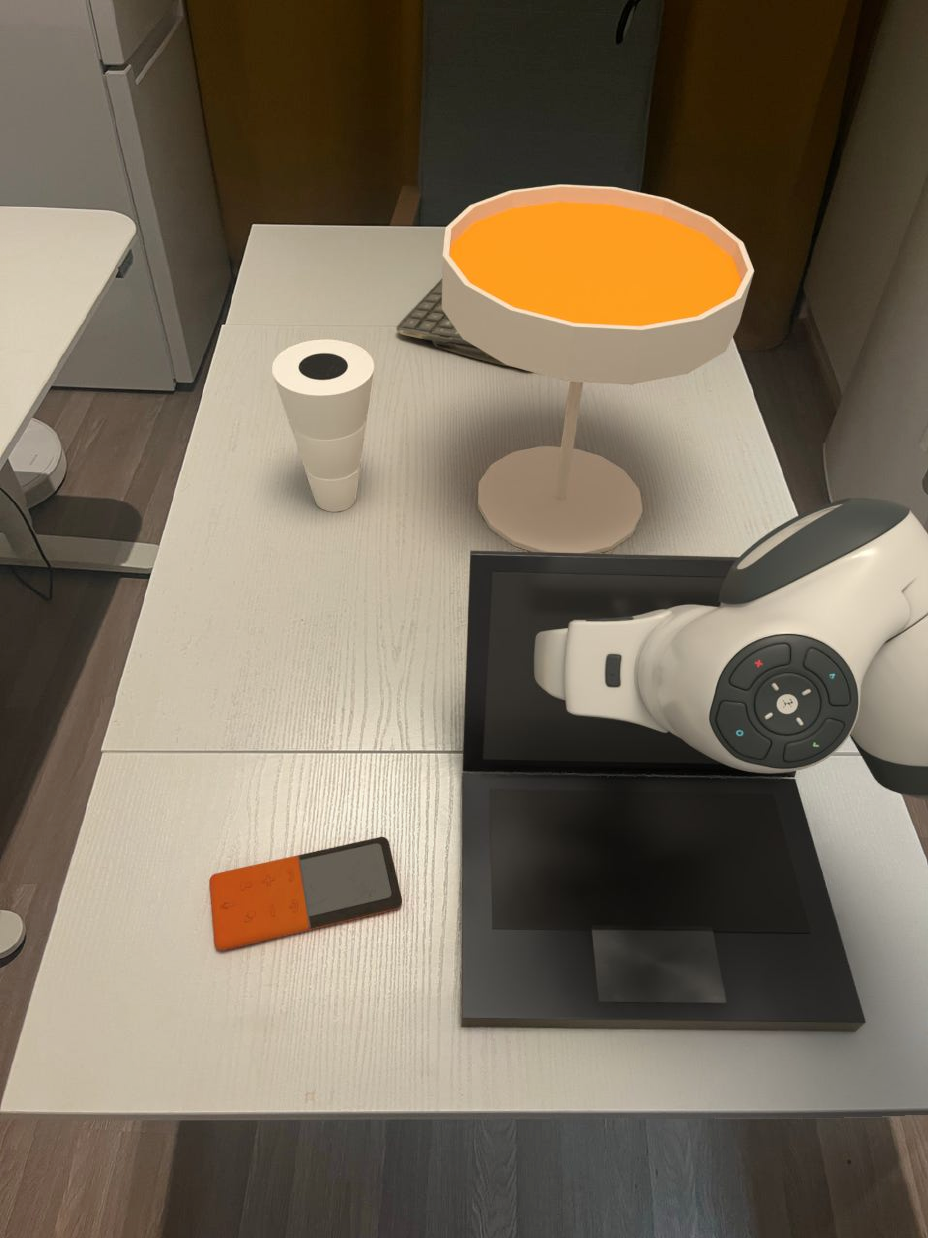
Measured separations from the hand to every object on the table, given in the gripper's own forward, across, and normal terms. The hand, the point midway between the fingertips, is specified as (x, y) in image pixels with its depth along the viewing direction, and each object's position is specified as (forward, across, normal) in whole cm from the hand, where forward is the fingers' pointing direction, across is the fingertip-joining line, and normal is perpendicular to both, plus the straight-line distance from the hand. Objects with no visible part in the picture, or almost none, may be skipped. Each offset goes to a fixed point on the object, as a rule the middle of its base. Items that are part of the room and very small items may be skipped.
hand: (648, 653), depth 74 cm
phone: (0, +28, +21) cm, 35 cm away
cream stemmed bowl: (+35, +3, -15) cm, 39 cm away
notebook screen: (+1, 0, +2) cm, 2 cm away
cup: (+35, +30, -15) cm, 48 cm away
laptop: (+67, +7, -47) cm, 82 cm away
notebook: (0, 0, +20) cm, 20 cm away
